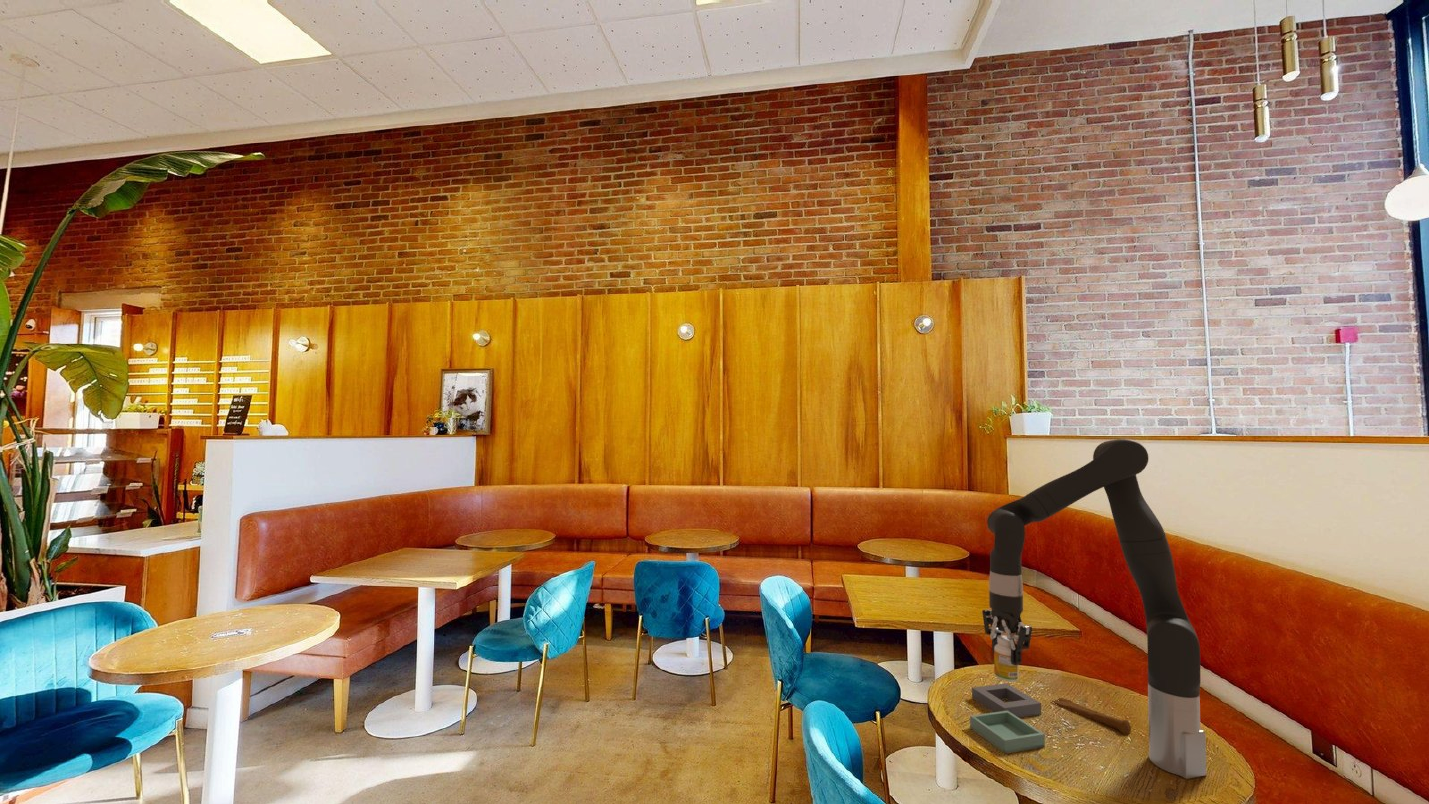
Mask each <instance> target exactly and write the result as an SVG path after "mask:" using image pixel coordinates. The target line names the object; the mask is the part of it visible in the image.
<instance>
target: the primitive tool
mask: <svg viewBox="0 0 1429 804" xmlns="http://www.w3.org/2000/svg"><path fill="white" fill-rule="evenodd" d="M1058 698H1059V699H1058ZM1058 698H1057V699H1058V700H1059V701H1058V700H1056V699H1054V700H1055V701H1053V700H1051V701H1052V702H1054V703H1055V704H1057V705H1059V706H1058V707H1060V706H1061V707H1060V708H1063V707H1064V708H1063V709H1065V708H1066V709H1065V710H1068V709H1069V711H1071V712H1073V711H1074V712H1073V713H1075V712H1077V713H1076V714H1078V713H1079V715H1081V716H1083V717H1086V718H1088V719H1091V720H1093V719H1094V720H1093V721H1095V720H1096V721H1095V722H1098V723H1100V722H1101V723H1100V724H1104V725H1105V726H1108V727H1111V728H1112V729H1116V730H1118V731H1119V732H1120V733H1122V734H1123V735H1129V734H1130V733H1132V726H1131V723H1130V722H1129V720H1128V719H1120V718H1117V717H1114V716H1111V715H1108V714H1105V713H1102V712H1100V711H1097V710H1094V709H1091V708H1088V707H1086V706H1083V705H1080V704H1078V703H1076V702H1073V701H1072V700H1070V699H1067V698H1063V697H1058ZM1055 704H1054V705H1055ZM1057 705H1056V706H1057Z"/></svg>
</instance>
